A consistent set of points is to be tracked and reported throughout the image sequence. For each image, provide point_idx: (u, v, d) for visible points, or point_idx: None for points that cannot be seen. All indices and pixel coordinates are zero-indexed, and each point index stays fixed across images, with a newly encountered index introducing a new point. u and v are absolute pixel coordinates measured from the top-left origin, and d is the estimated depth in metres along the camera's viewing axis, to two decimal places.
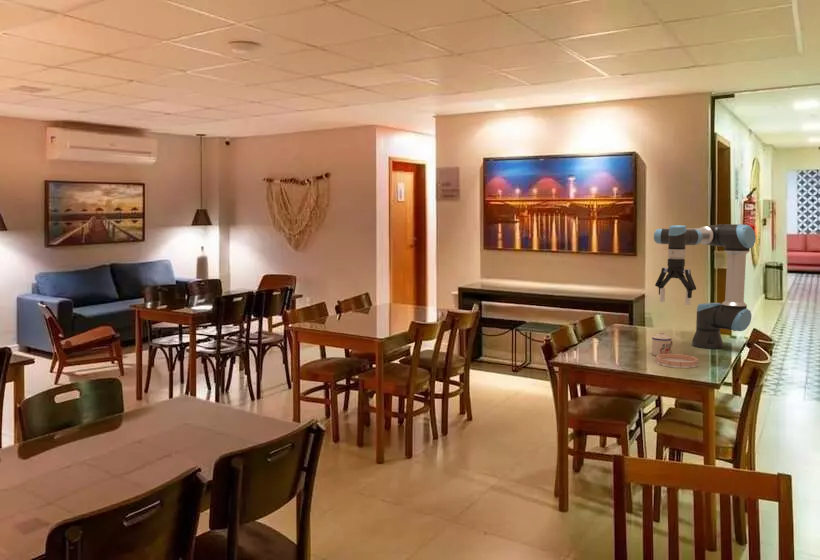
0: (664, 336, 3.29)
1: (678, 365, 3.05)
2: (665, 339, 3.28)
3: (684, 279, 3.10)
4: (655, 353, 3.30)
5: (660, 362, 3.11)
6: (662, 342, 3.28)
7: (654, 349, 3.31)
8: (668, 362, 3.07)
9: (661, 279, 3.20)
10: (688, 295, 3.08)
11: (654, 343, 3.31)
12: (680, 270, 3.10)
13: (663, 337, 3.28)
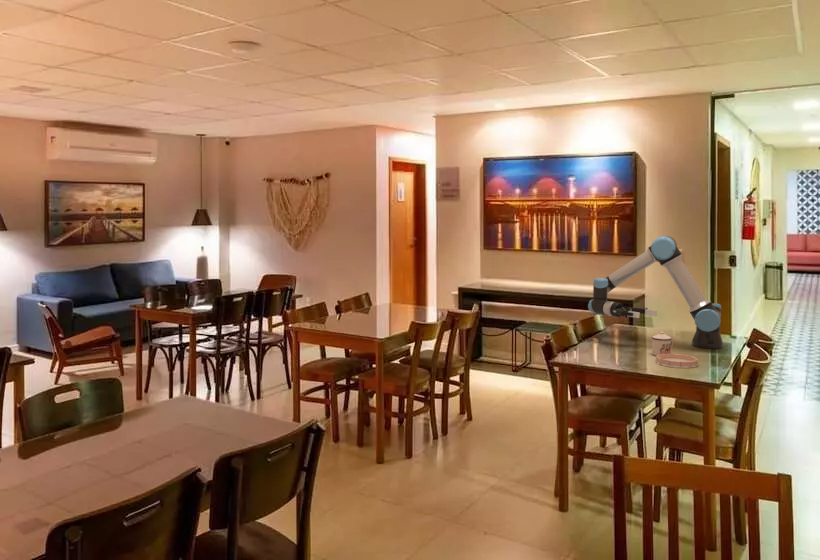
0: (664, 336, 3.29)
1: (678, 365, 3.05)
2: (665, 339, 3.28)
3: None
4: (655, 353, 3.30)
5: (660, 362, 3.11)
6: (662, 342, 3.28)
7: (654, 349, 3.31)
8: (668, 362, 3.07)
9: None
10: (630, 315, 3.39)
11: (654, 343, 3.31)
12: None
13: (663, 337, 3.28)
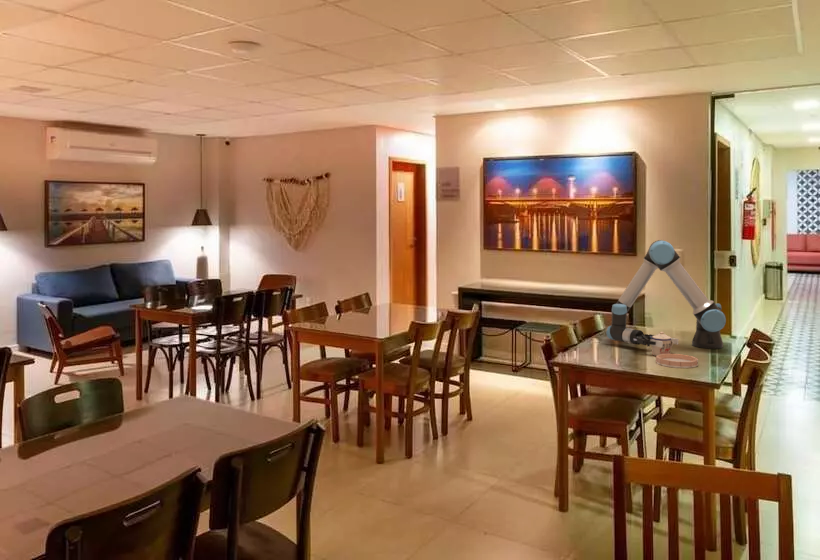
0: (664, 336, 3.29)
1: (678, 365, 3.05)
2: (665, 339, 3.28)
3: None
4: (655, 353, 3.30)
5: (660, 362, 3.11)
6: None
7: (654, 349, 3.31)
8: (668, 362, 3.07)
9: None
10: (653, 344, 3.30)
11: None
12: None
13: (663, 337, 3.28)
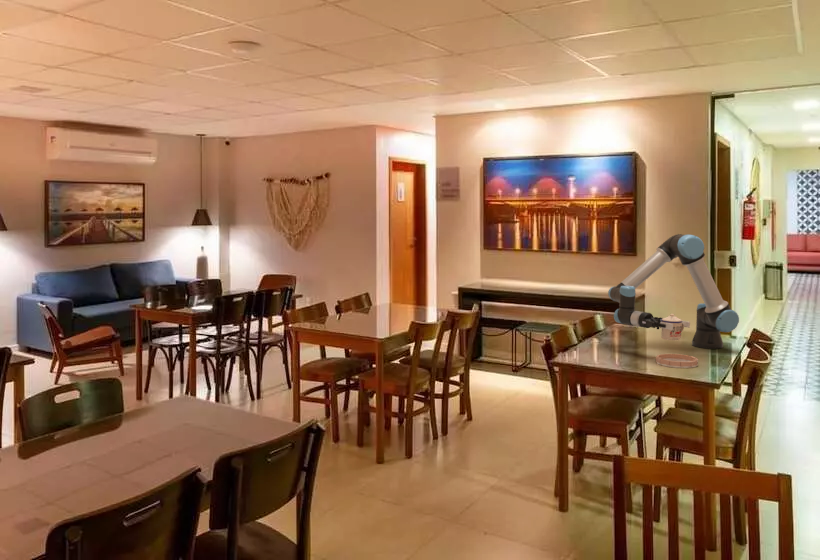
0: (674, 318, 3.10)
1: (678, 365, 3.05)
2: (675, 321, 3.09)
3: None
4: (665, 336, 3.12)
5: (660, 362, 3.11)
6: (673, 324, 3.09)
7: (663, 332, 3.12)
8: (668, 362, 3.07)
9: None
10: (662, 327, 3.11)
11: None
12: None
13: (673, 319, 3.10)
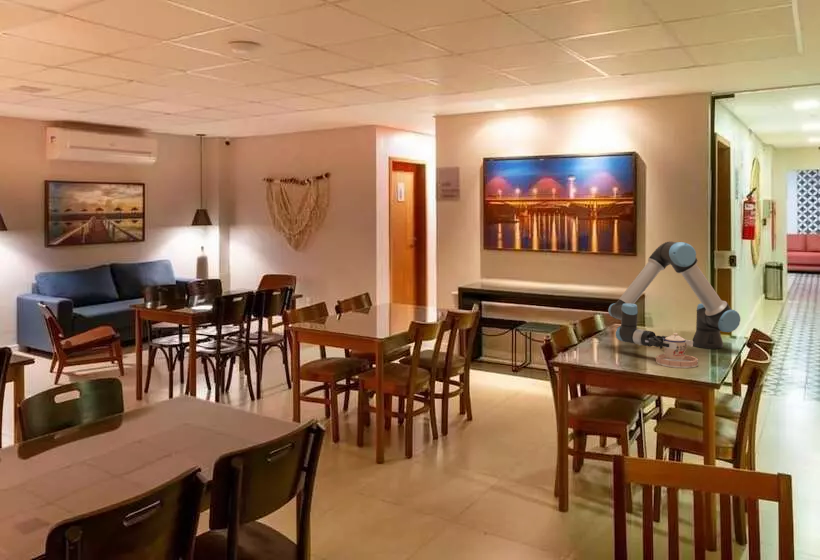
0: (678, 338, 3.09)
1: (678, 365, 3.05)
2: (679, 341, 3.07)
3: None
4: (668, 356, 3.10)
5: (660, 362, 3.11)
6: None
7: (667, 351, 3.11)
8: (668, 362, 3.07)
9: None
10: (666, 346, 3.09)
11: None
12: None
13: (677, 339, 3.08)
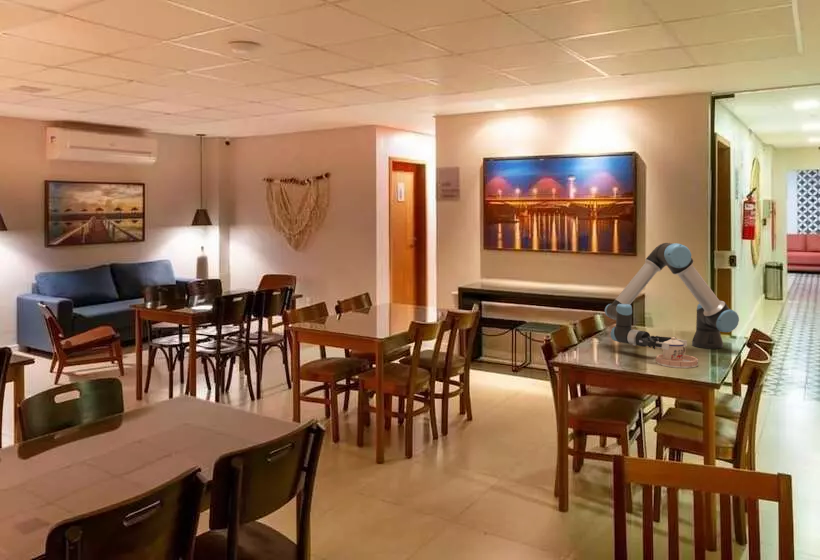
0: (676, 342, 3.09)
1: (678, 365, 3.05)
2: (677, 345, 3.08)
3: (649, 342, 3.19)
4: None
5: (660, 362, 3.11)
6: (674, 348, 3.08)
7: (665, 355, 3.11)
8: (668, 362, 3.07)
9: None
10: (658, 346, 3.12)
11: (665, 349, 3.11)
12: None
13: (675, 343, 3.09)
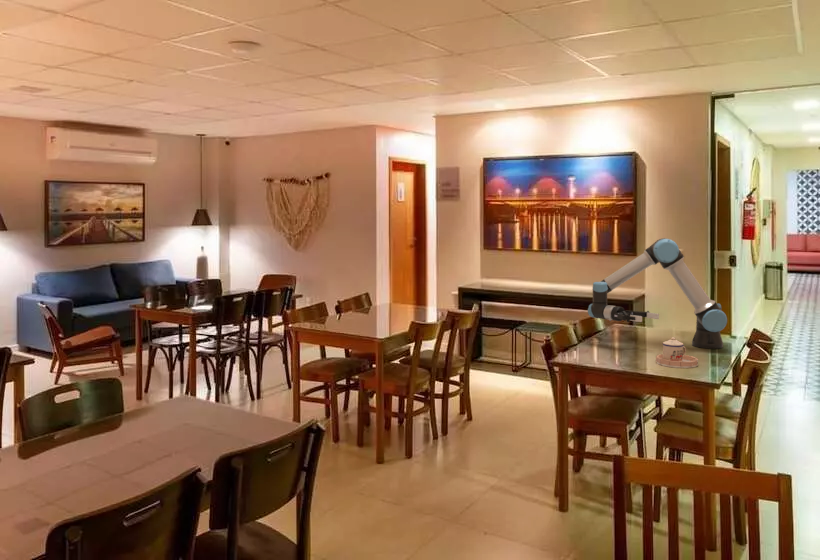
0: (675, 342, 3.09)
1: (678, 365, 3.05)
2: (676, 345, 3.08)
3: None
4: None
5: (660, 362, 3.11)
6: (673, 348, 3.08)
7: (664, 355, 3.11)
8: (668, 362, 3.07)
9: None
10: (632, 319, 3.30)
11: (664, 349, 3.11)
12: None
13: (674, 343, 3.09)
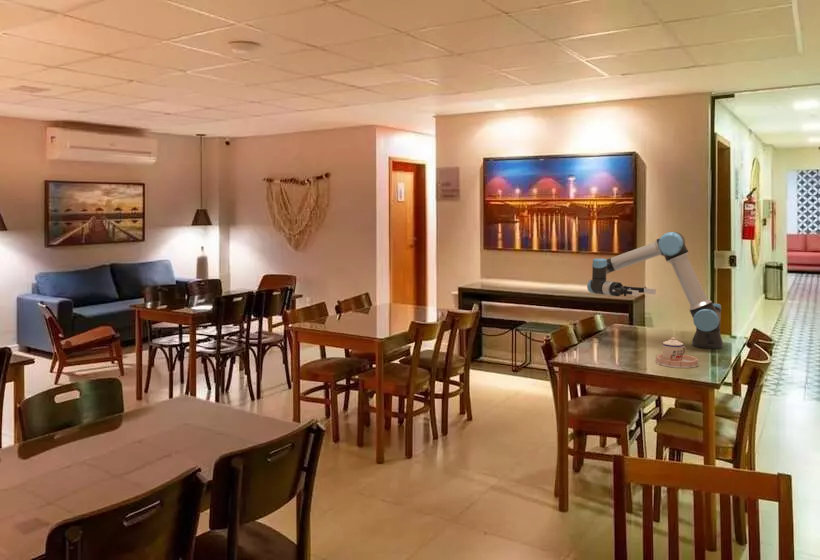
0: (675, 342, 3.09)
1: (678, 365, 3.05)
2: (676, 345, 3.08)
3: None
4: None
5: (660, 362, 3.11)
6: (673, 348, 3.08)
7: (664, 356, 3.11)
8: (668, 362, 3.07)
9: None
10: (629, 294, 3.40)
11: (664, 349, 3.11)
12: None
13: (674, 343, 3.09)
